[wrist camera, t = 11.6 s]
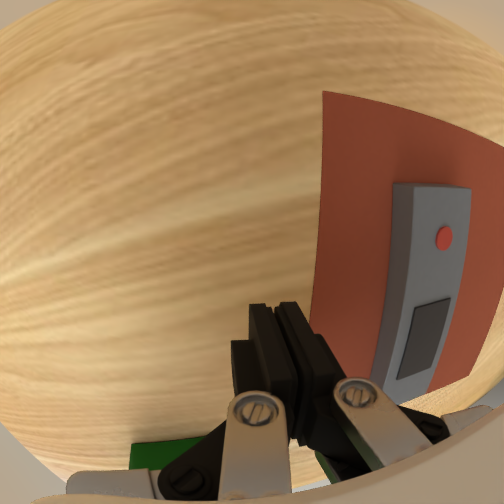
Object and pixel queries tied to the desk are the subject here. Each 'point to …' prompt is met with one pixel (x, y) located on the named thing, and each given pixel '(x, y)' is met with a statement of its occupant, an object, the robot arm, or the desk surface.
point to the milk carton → (158, 453)
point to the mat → (380, 226)
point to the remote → (420, 285)
